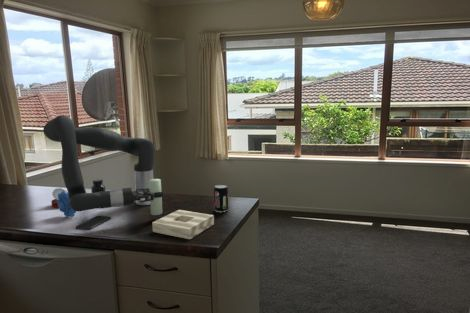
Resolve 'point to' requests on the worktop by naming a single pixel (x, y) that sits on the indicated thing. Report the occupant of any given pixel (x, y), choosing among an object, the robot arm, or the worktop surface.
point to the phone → (93, 222)
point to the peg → (157, 202)
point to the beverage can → (220, 198)
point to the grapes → (65, 204)
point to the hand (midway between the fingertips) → (161, 192)
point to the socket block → (183, 224)
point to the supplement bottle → (97, 186)
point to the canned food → (56, 197)
